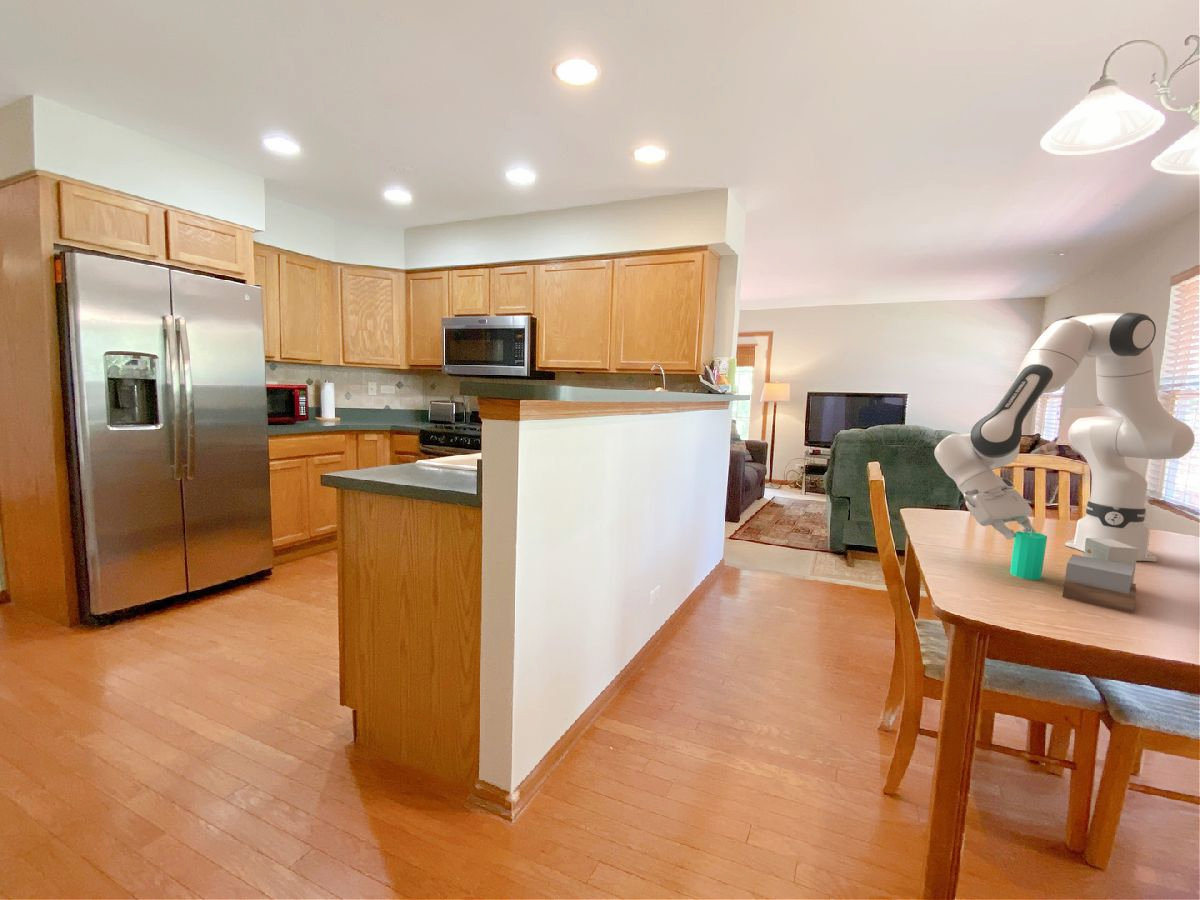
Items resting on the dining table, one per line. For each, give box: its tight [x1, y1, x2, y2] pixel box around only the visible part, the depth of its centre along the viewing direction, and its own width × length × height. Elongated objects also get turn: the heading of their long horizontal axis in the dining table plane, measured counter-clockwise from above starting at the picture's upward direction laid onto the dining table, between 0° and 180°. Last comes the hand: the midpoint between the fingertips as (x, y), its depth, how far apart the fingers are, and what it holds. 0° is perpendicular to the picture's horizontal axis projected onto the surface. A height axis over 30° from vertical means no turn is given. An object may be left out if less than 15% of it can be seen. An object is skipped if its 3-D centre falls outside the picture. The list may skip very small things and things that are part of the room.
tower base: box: [1062, 580, 1137, 615], centre depth 115 cm, size 11×11×4 cm
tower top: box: [1064, 554, 1134, 594], centre depth 115 cm, size 10×10×4 cm
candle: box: [1009, 528, 1048, 581], centre depth 128 cm, size 6×6×12 cm
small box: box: [1083, 538, 1138, 583], centre depth 123 cm, size 8×6×10 cm
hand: (1022, 536), depth 129 cm, fingers open, 8 cm apart
